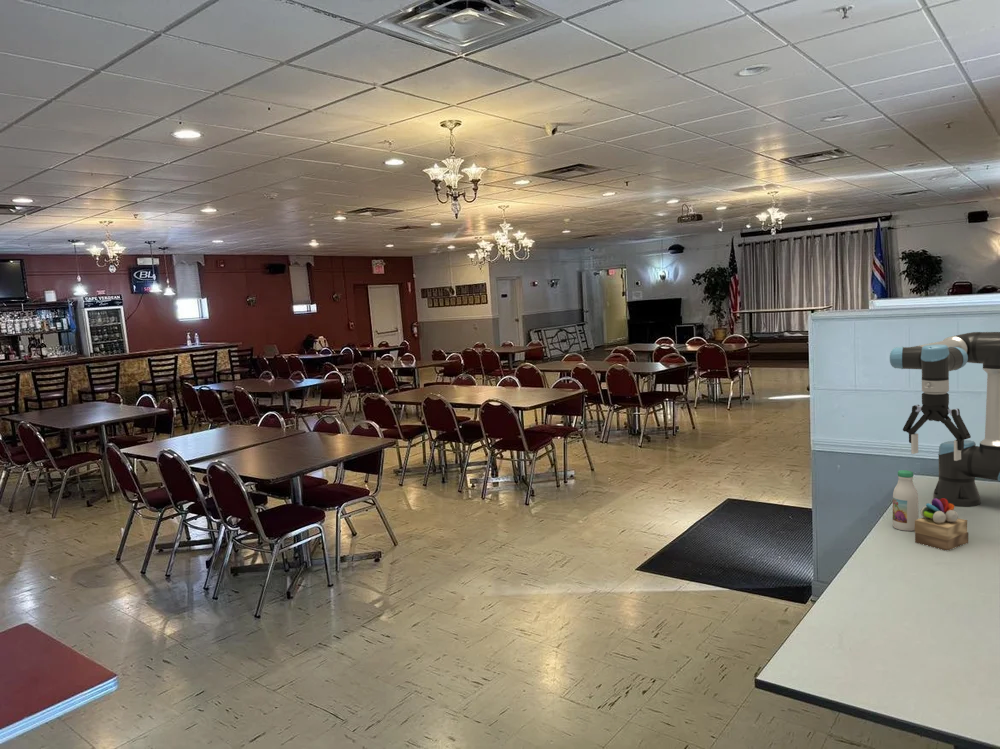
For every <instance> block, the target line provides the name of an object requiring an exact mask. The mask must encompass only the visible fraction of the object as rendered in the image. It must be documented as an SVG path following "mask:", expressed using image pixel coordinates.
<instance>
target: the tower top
mask: <svg viewBox="0 0 1000 749" xmlns="http://www.w3.org/2000/svg"><path fill="white" fill-rule="evenodd" d="M967 532H968V520H967V519H964V518H959V517H958V519H957V520H956V521H955V522H948V521H946V520H945V521H944V522H943V523H936V522H934V520H933V518H928V519H926V518H924V517H923V516H922V517H920V518H918V519H917V520H915V531H914V534H915V533H919V534H923V535H927V536H931V537H935V538H939V539H943V540H950V539H952V538H954V537H957V536H959V535H962V534H964V533H967Z"/></svg>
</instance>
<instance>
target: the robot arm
mask: <svg viewBox="0 0 1000 749" xmlns="http://www.w3.org/2000/svg"><path fill="white" fill-rule="evenodd" d="M889 363H890V365H891V367H892V368H894V369H901V370H921V391H922V394H921V404H922V405H919V404H915V405H912V406H911V412H910V414H909V416H908V418H907V420H906V421H905V424H904V426H903V428H902V432H906V433H908V442H909V444H910V447H911V450H910V452H911V453H910V454H912V455H914V454H918V453H919V433H917V432H918V430H919V429H921V427H923V425H924V424H925V423H926V422H927V421H930V422H931V421H934V422H937V423H939V422H940V423H941V424H943V425H944V427H946V428H947V430H949V432H950V433H951V434H952V436H953V437H954V440H949V441H944V442H941V443H940V444H939V446H938V453H937V455H938V480H937V483H936V485H935V488H934V491H933V493H932V495H933V497H932V500H933V499H935V498H937V499H939V500H940V499H942V498H945V499H947V500H948V503H951V504H953V505H954V507H974V506H978V505H980V504H981V494H980V493H979V489H978V487H977V485H976V478H978V479H984V480H991V481H997V482H1000V331H973V332H967V333H961V334H958V335H953V336H948V337H946V338H944V339H943V340H941V341H936V342H931V343H925V344H920V345H914V346H901V347H898V346H897V347H894V348H893V349H891V351H890V353H889ZM967 363H969V364H970V363H971V364H982V370H983V371H984V372H986V374H987V376H986V377H987V378H986V400H985V402H986V404H985V428H984V430H985V431H984V438H983V439H982V440H981V441H980V442H979V446H978V445H976V442H975V441H974V440H968V439H971V433H970V432H969V430H968V428H967V426H966V424H965V422H964V420H963V418H962V416H961V412H960V408H952V409H951V408H950V407H949V405H950V394H949V393H948V392H950V381H949V380H950V378H949V376H950V372H952V371H957V370H960V369H961V368H963V367H965V366H966V365H967ZM920 412H922V416H921V417H920V418H919V419H918V420H917V418H918V416H919V415H920ZM949 415H950V416H951V417H949ZM952 419H953V421H954V423H953V421H952ZM916 420H917V421H916ZM915 421H916V423H915Z"/></svg>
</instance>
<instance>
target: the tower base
mask: <svg viewBox="0 0 1000 749" xmlns="http://www.w3.org/2000/svg"><path fill="white" fill-rule="evenodd" d="M914 542H915V543H916V544H919V543H920V544H919V545H923V544H924V545H923V546H926V545H928V546H927V547H930V546H931V548H934V547H935V549H938V548H939V550H941V549H942V551H945V550H949V551H951V550H953V548H954V549H956V548H959V547H961V546H963V544H964V545H967V544H968V543H969V532H968V531H967V533H964V534H962V535H959V536H957V537H954V538H952V539H950V540H943V539H939V538H935V537H931V536H927V535H923V534H919V533H915V532H914ZM966 543H967V544H966ZM960 545H961V546H960ZM958 546H959V547H958ZM955 547H956V548H955ZM950 549H951V550H950Z"/></svg>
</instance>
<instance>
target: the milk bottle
mask: <svg viewBox="0 0 1000 749" xmlns="http://www.w3.org/2000/svg"><path fill="white" fill-rule="evenodd" d="M897 478H898V480H897V484H896V485H895V487H894V489H893V493H892V527H893V528H894V529H896V530H900V531H905V532H913V531H914V532H915V520H917V519H919V493H918V491H917V488H916V487H915V484H914V482H913V479H914V472H913V471H911V470H907V469H900V470H898V471H897Z"/></svg>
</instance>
